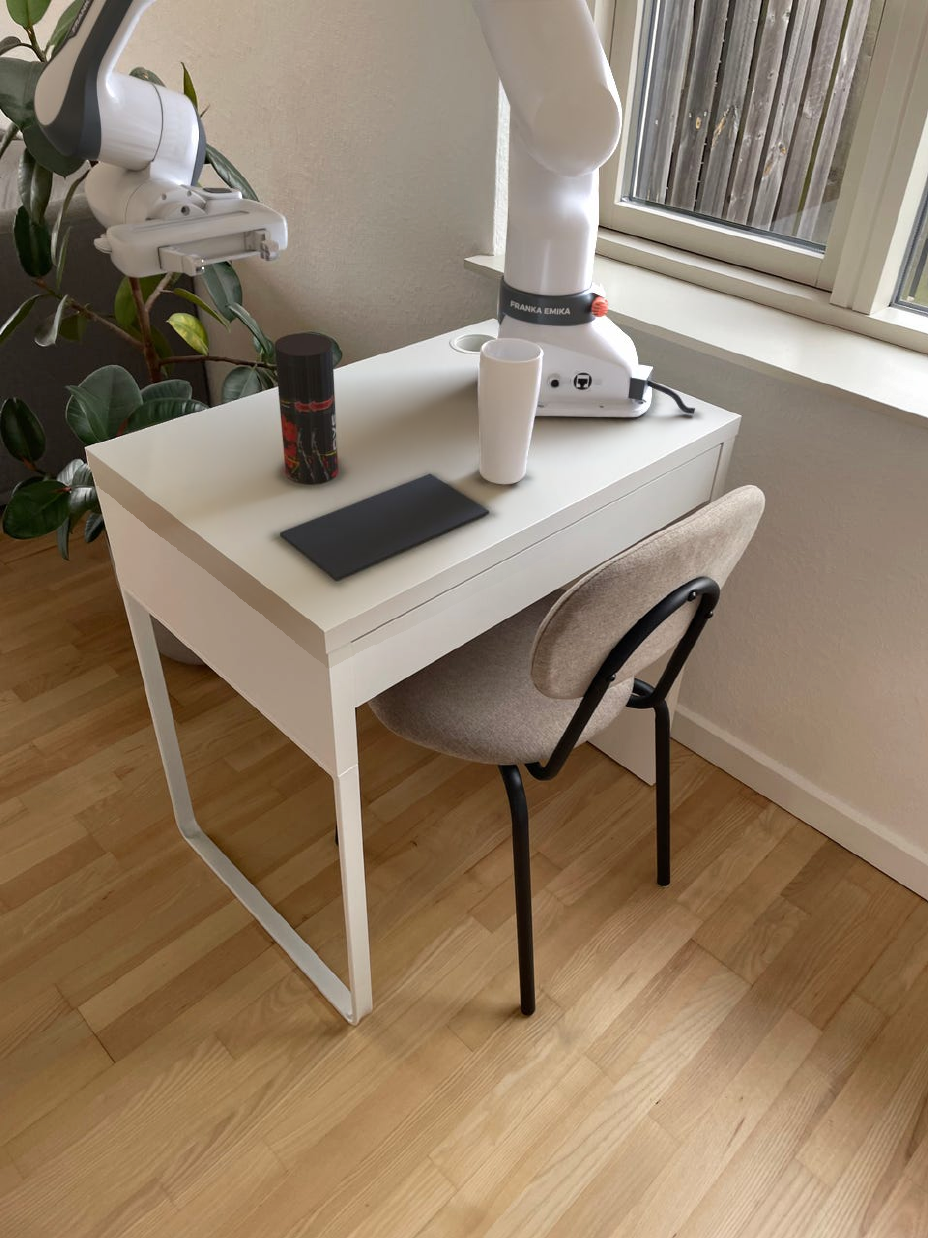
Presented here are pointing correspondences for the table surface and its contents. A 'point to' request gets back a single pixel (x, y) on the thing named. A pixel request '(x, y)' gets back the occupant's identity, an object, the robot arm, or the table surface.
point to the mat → (382, 525)
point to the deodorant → (307, 407)
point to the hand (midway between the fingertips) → (237, 260)
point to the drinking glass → (507, 406)
